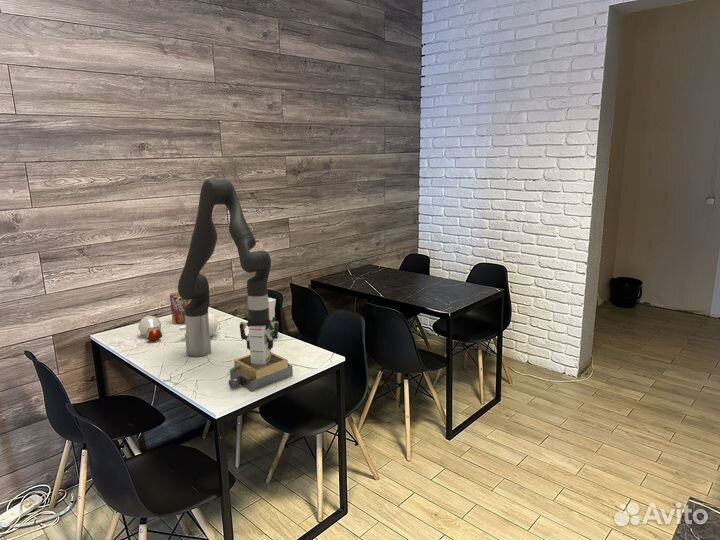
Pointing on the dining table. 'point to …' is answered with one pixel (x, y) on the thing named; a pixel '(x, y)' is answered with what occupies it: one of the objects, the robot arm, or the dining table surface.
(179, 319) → the candy box
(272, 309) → the milk carton
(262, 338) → the syrup box
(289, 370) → the wooden drawer tray
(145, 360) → the dining table surface
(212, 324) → the piggy bank
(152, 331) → the potion bottle
